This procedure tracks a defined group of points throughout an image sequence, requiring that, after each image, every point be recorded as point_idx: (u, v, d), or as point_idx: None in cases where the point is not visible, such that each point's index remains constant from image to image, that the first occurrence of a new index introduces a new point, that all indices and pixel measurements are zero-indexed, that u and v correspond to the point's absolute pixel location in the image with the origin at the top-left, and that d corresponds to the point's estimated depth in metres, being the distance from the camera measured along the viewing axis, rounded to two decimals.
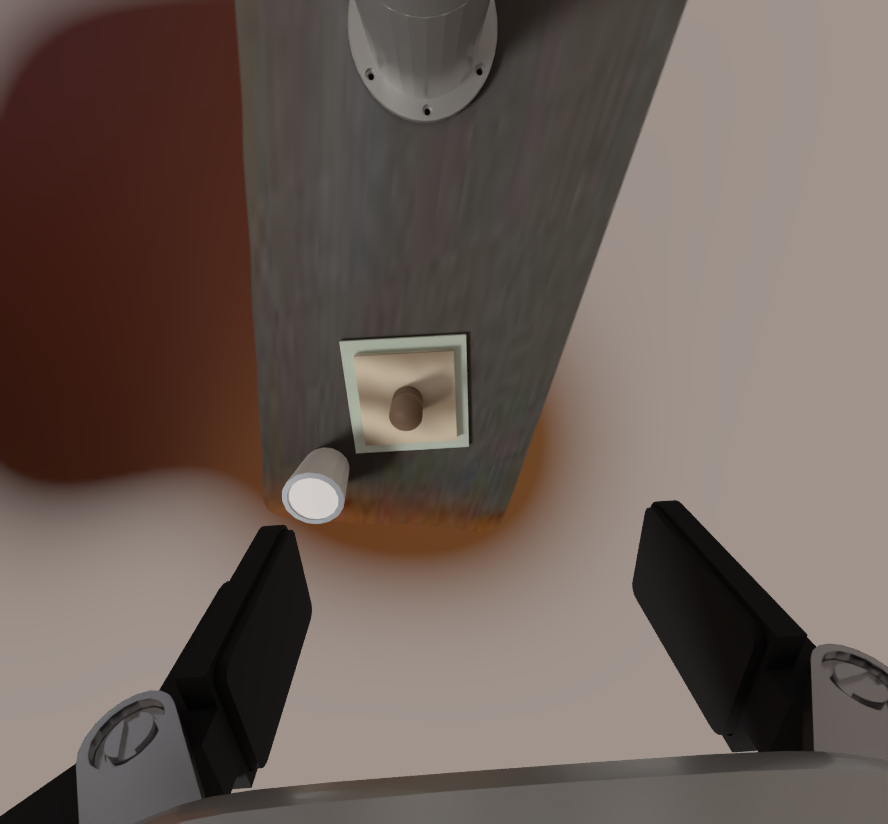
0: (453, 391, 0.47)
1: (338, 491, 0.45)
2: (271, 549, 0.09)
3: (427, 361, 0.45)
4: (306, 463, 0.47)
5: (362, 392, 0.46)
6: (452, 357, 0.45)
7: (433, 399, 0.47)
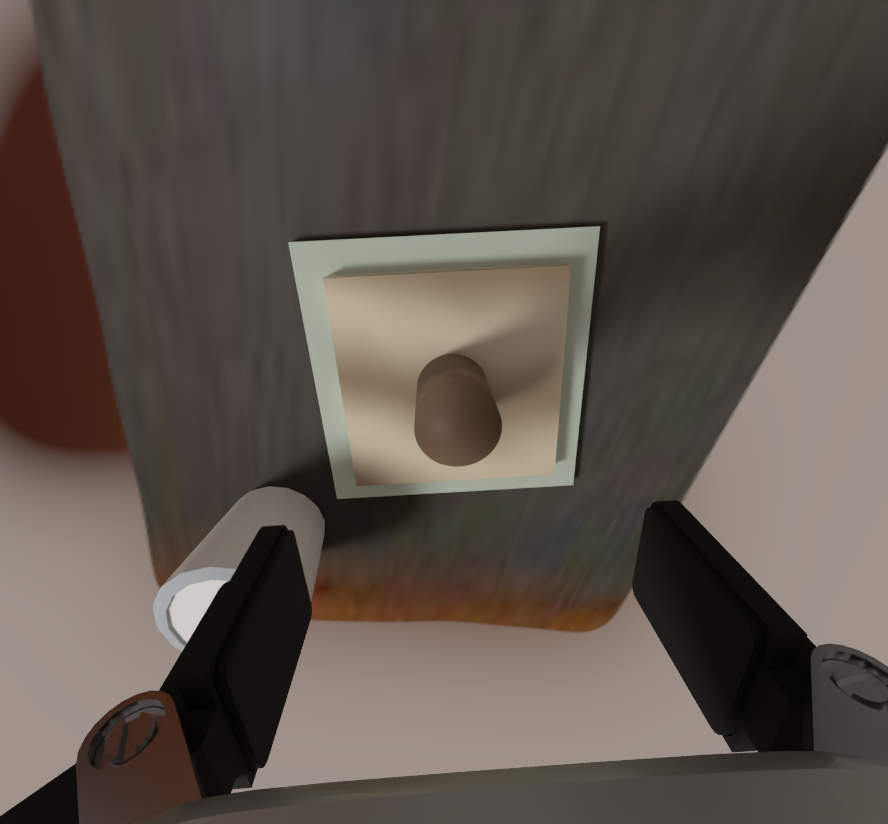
0: (559, 367, 0.20)
1: None
2: (271, 549, 0.09)
3: (504, 293, 0.18)
4: (219, 532, 0.20)
5: (346, 368, 0.20)
6: (566, 282, 0.18)
7: (511, 385, 0.20)
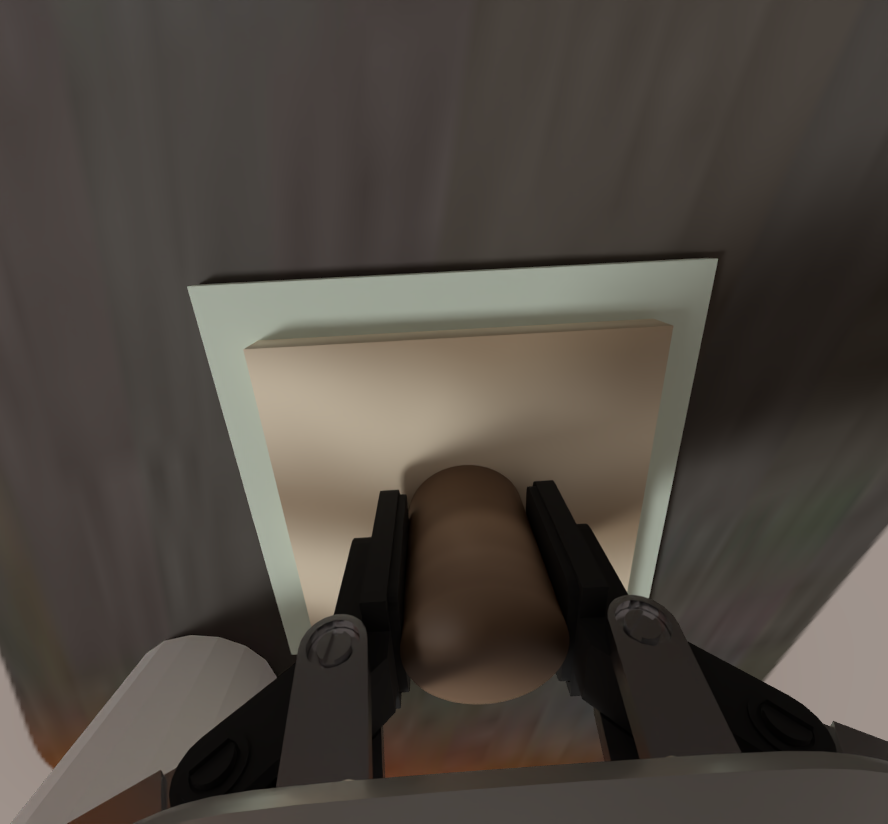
0: (640, 482, 0.12)
1: None
2: (396, 508, 0.10)
3: (556, 372, 0.11)
4: (85, 754, 0.12)
5: (293, 487, 0.12)
6: (663, 353, 0.11)
7: None
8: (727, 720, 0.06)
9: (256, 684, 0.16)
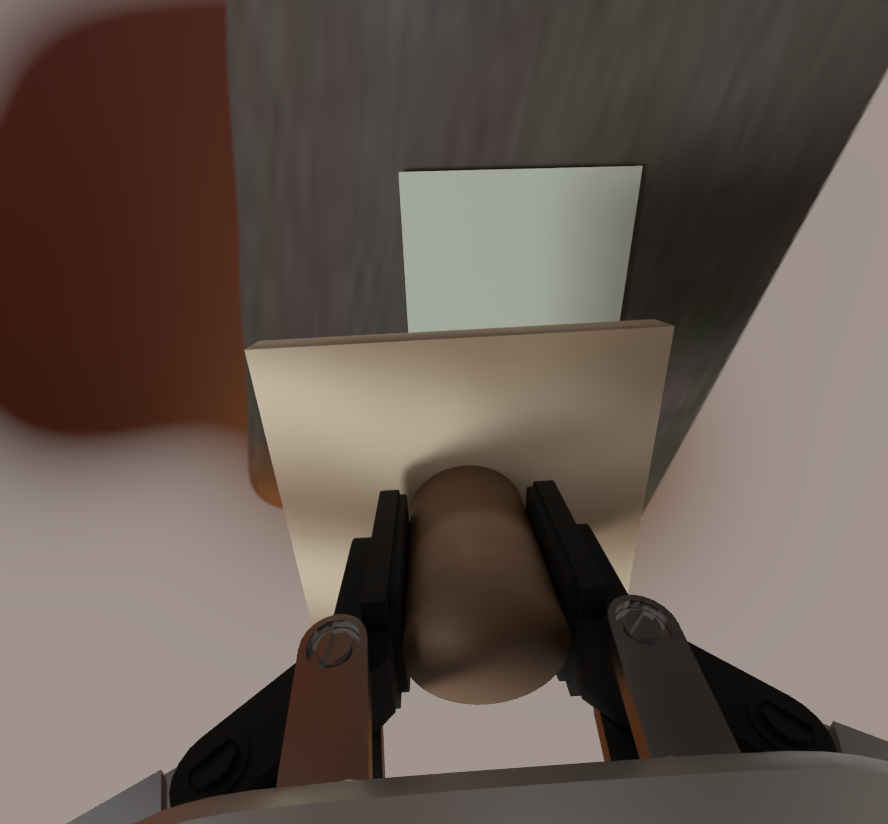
0: (641, 482, 0.12)
1: None
2: (396, 508, 0.10)
3: (557, 372, 0.11)
4: None
5: (294, 488, 0.12)
6: (664, 354, 0.11)
7: None
8: (727, 720, 0.06)
9: None
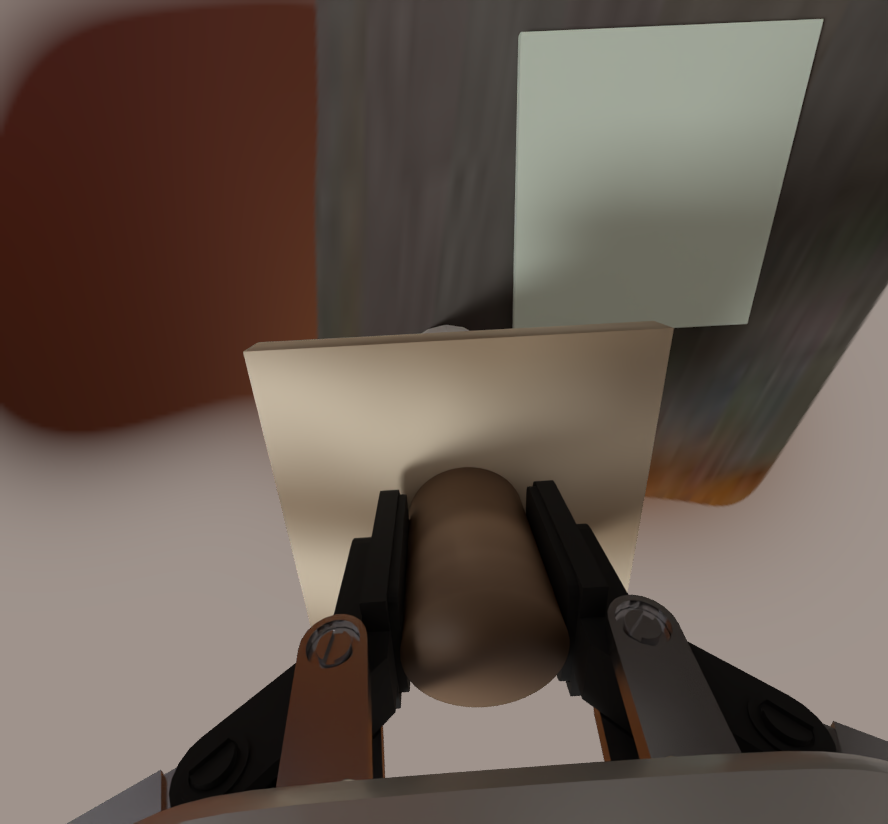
0: (640, 484, 0.12)
1: None
2: (396, 508, 0.10)
3: (556, 374, 0.11)
4: None
5: (292, 489, 0.12)
6: (663, 355, 0.11)
7: None
8: (727, 720, 0.06)
9: None
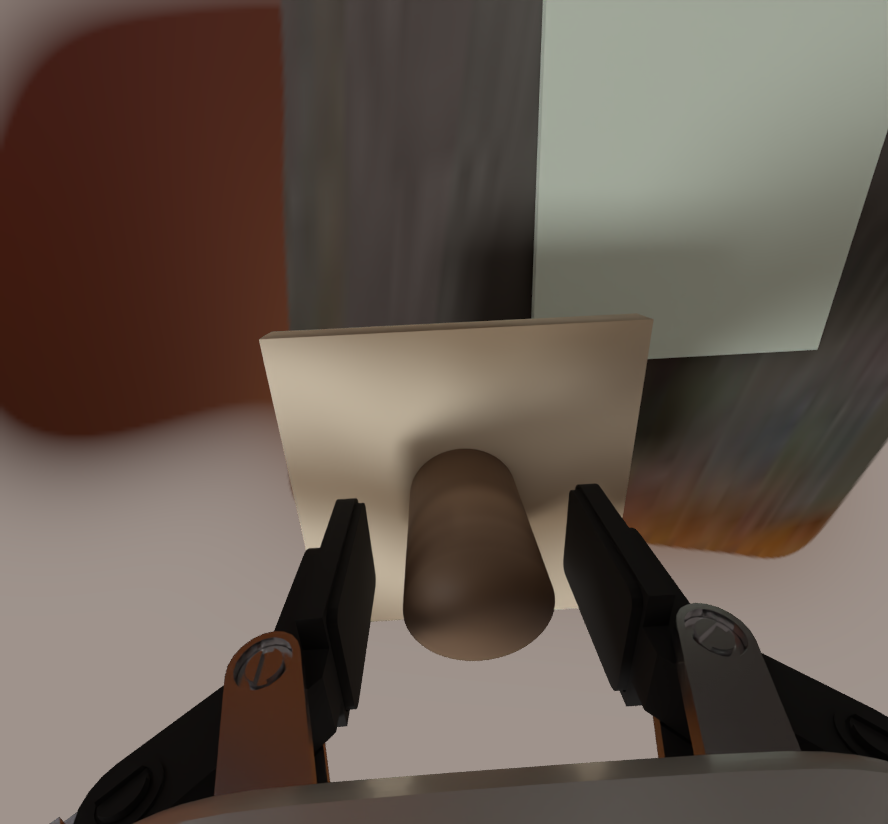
0: (625, 465, 0.13)
1: None
2: (351, 518, 0.10)
3: (546, 361, 0.12)
4: None
5: (302, 469, 0.13)
6: (644, 345, 0.12)
7: (552, 491, 0.14)
8: (814, 735, 0.06)
9: None
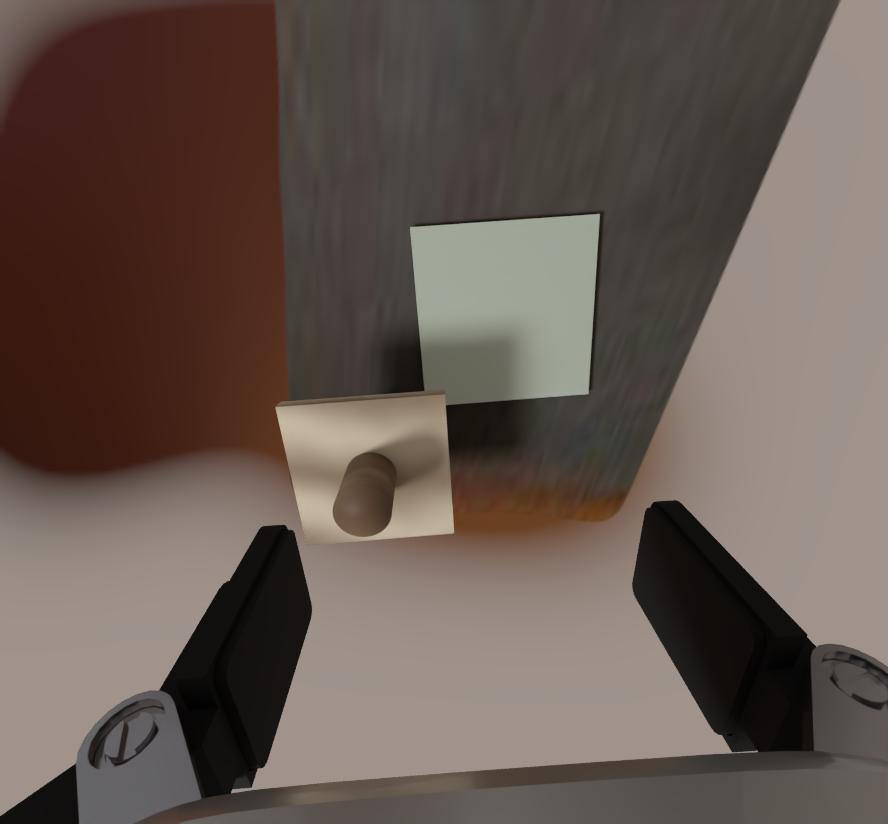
0: (446, 459, 0.28)
1: None
2: (271, 549, 0.09)
3: (401, 413, 0.27)
4: None
5: (295, 463, 0.28)
6: (443, 405, 0.27)
7: (413, 472, 0.29)
8: None
9: None
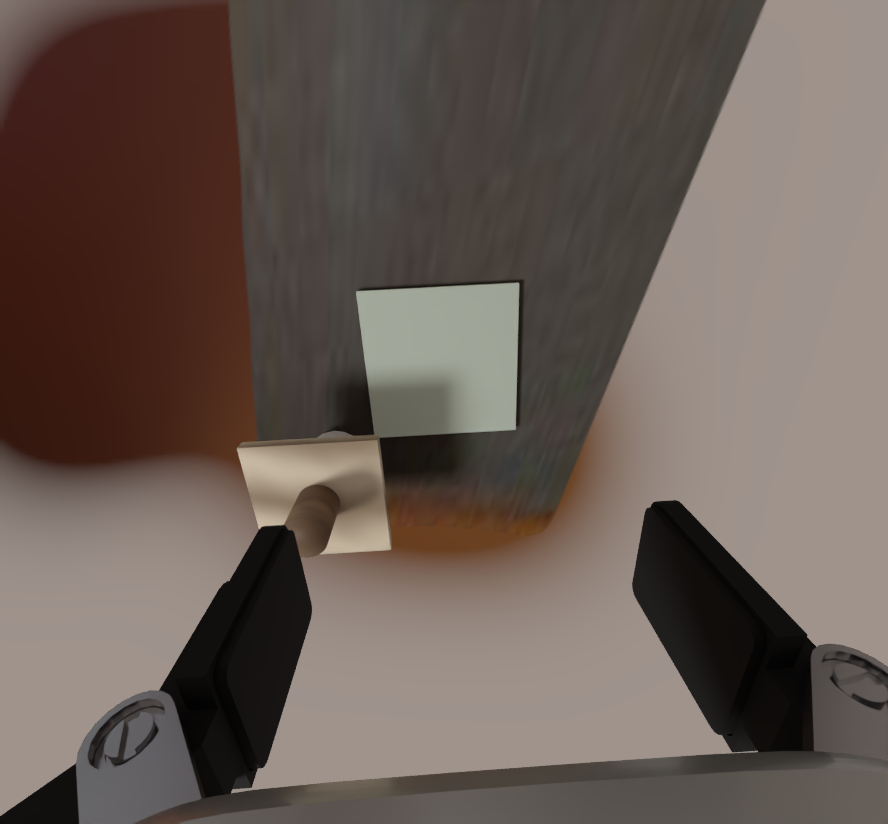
0: (381, 490, 0.34)
1: None
2: (271, 549, 0.09)
3: (341, 454, 0.32)
4: None
5: (254, 492, 0.34)
6: (376, 448, 0.32)
7: (354, 500, 0.34)
8: None
9: None
